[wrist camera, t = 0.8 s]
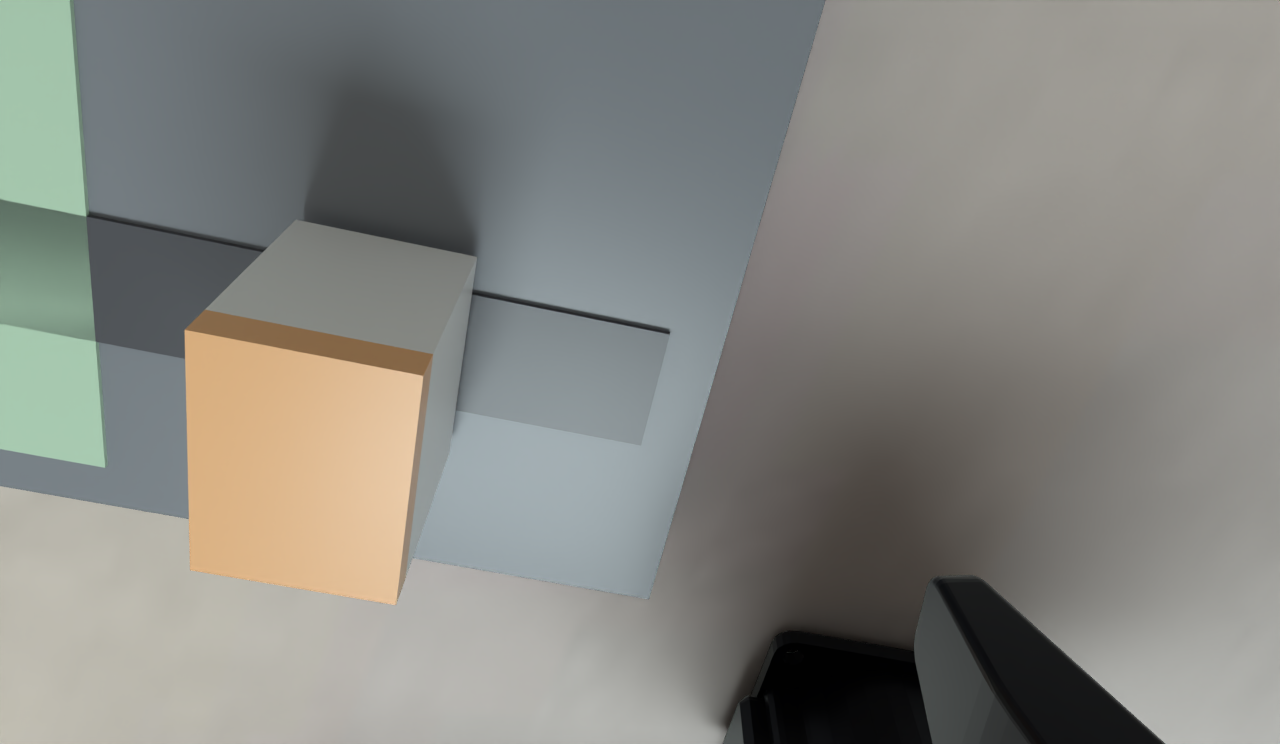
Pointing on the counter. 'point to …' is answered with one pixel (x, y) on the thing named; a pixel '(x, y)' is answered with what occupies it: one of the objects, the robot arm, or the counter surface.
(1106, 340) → the counter surface
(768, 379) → the counter surface
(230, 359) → the breaker toggle
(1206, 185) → the counter surface
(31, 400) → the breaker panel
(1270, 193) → the counter surface
